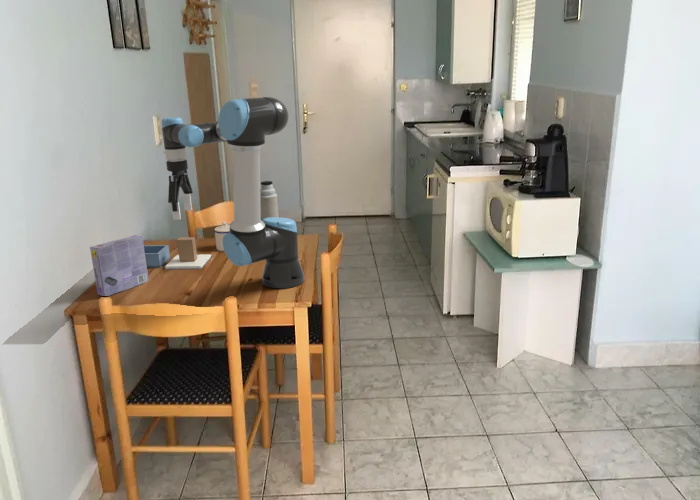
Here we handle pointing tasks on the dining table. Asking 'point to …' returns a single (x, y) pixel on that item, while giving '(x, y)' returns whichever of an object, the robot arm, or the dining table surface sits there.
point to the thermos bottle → (268, 201)
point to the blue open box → (156, 255)
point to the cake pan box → (119, 265)
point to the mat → (189, 269)
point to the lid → (187, 255)
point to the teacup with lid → (221, 235)
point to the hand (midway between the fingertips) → (182, 214)
